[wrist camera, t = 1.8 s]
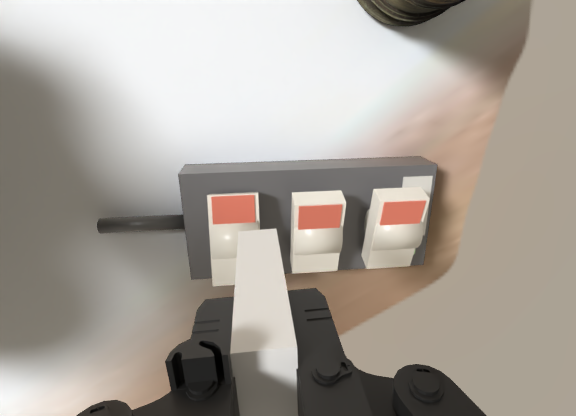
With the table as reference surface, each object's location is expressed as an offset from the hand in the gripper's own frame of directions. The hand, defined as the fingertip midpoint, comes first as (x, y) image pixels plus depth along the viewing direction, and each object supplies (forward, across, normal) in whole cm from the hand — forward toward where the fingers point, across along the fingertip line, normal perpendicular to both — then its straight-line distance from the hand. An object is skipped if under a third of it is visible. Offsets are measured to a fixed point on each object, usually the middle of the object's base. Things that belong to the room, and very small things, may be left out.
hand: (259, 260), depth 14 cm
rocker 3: (+13, +10, -4) cm, 17 cm away
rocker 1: (+13, -2, -5) cm, 14 cm away
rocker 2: (+13, +4, -4) cm, 14 cm away
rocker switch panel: (+16, +1, -4) cm, 17 cm away
